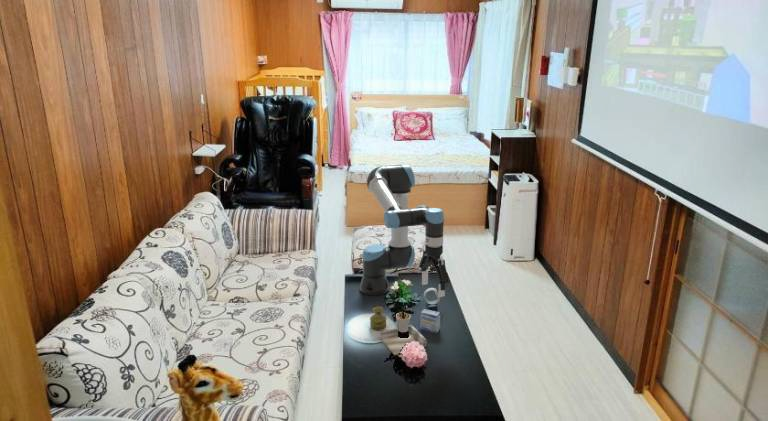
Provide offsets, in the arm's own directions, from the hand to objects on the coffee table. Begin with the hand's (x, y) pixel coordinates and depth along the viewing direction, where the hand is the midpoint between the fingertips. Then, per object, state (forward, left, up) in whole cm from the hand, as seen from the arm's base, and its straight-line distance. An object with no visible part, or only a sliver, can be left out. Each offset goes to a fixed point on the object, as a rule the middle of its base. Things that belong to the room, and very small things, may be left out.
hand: (432, 290), depth 229 cm
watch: (-16, +9, -19) cm, 27 cm away
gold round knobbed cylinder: (-12, -21, -19) cm, 31 cm away
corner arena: (+5, -17, -19) cm, 26 cm away
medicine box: (0, -1, -19) cm, 19 cm away
